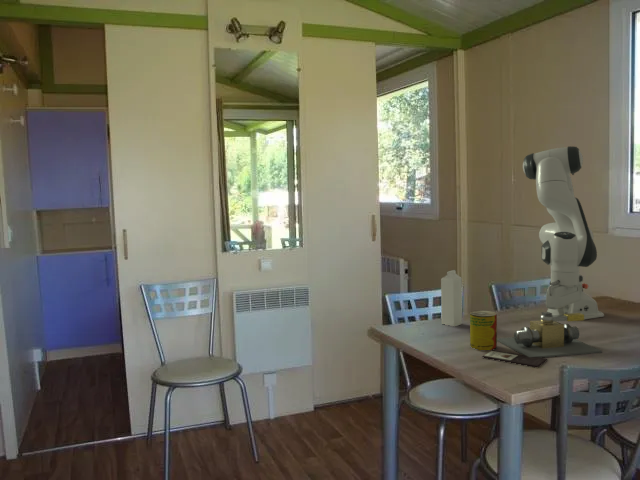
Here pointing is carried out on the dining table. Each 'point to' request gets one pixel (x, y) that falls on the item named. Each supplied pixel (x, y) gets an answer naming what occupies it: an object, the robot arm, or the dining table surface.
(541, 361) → the chocolate bar
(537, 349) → the mat
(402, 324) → the dining table surface
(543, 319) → the lever
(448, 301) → the milk
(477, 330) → the yellow tin can
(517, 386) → the dining table surface
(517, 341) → the valve body
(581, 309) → the robot arm
